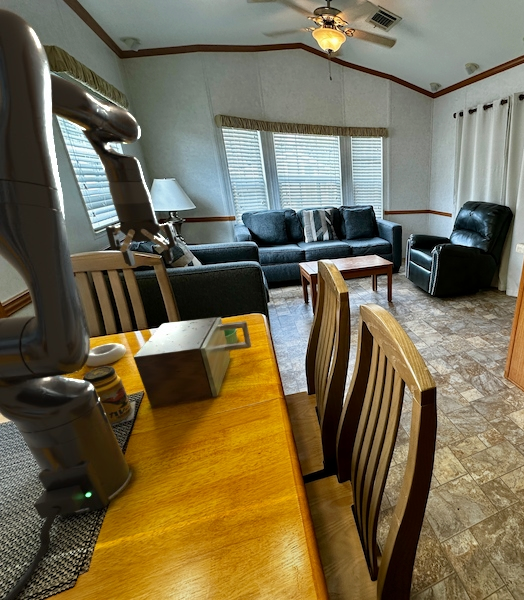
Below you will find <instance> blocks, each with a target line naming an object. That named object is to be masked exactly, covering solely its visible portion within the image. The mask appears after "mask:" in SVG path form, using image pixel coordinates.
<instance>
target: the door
mask: <svg viewBox="0 0 524 600" xmlns="http://www.w3.org/2000/svg"><path fill="white" fill-rule="evenodd" d="M229 329H237V330H238V329H242V335H243V339H244V341H242V342H236V343H235V344H227V342H226V338H225V333H224V330H229ZM250 348H252V343H251V337H250V332H249V327H248V322H247V321H246V320H243V321H242V320H241V321H235V322H227V323H223V321H222V317H216V321H215V323H214V324H213V326H212V328H211V330H210V332H209V334H208V336H207V338H206V339H205V341H204V343H203V345H202V347H201V353H202V357H203V361H204V364H205V368H206V372H207V376H208V379H209V383H210V387H211V391H212V394H213V396H212V398H213V397H218V395H219V393H220V390H221V388H222V385H223V382H224V379H225V375H226V373H227V370H228V368H229V364H230V361H231V356H230V351H237V350H245V349H250Z"/></svg>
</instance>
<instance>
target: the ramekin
mask: <svg viewBox="0 0 524 600" xmlns="http://www.w3.org/2000/svg"><path fill="white" fill-rule="evenodd" d="M237 331H238V328H237V329H229V330H224V333H225V338H226V342H227V344H235V343H238V333H237Z"/></svg>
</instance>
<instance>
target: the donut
mask: <svg viewBox="0 0 524 600" xmlns="http://www.w3.org/2000/svg"><path fill="white" fill-rule="evenodd" d="M126 352H127V348H126V346H125V345H124V344H121V343H115V342H114V343H106V344H101V345H97V346H95V347H92V348H90V353H89V357H88V360H87V362H86V364H85V366H88V367H103V366H107V365H109V364H112V363H114V362H118V361H119V360H120V359H122V358H123V357H124V356H125V354H126Z"/></svg>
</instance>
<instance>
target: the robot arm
mask: <svg viewBox="0 0 524 600" xmlns="http://www.w3.org/2000/svg"><path fill="white" fill-rule="evenodd" d="M53 115H55V116H57V117H59V118H60V119H63V120H65V121H66V122H69V123H70V124H72V125H74V126H76V127H78V128H80V130H81V132H82V134H83V135H84V136H85V139H87V141H88V142H89V144H90V145H91V147H92V149H93V151H94V152H95V154H96V155H97V157H98V159H99V160H100V163H101V165H102V168H103V171H104V173H105V177H106V181H107V183H108V190H109V194H110V196H111V200H112V204H113V207H114V209H115V212H116V215H117V219H118V221H119V225H114V224H111V225H108V226H106V227H105V232H106V235H107V239H108V243H109V247H110V249H111V250H112V251H117V252H121V254H122V257H123V260H124V263H125V264H126V265H128V267H134V266H136V260H135V258H134V254H133V252H132V250H131V248H132V246H133V245H134V243H135V244H137V243H142V242H144V243H150V242H153V243H154V244H155V245H157V246H159V247H161V248H162V249H163V250H162V253H163V256H164V260H165V263H166V264H167V265H170V264H172V263H173V261H174V255H173V251H172V248H175V247H176V246H178V245H179V241H178V238H177V235H176V232H175V229H174V226H173V223H171V222H166V223H164V224H163V223H162V224H160V223H159V222H158V220H157V216H156V213H155V209H154V206H153V202H152V197H151V194H150V191H149V189H148V187H147V184H146V182H145V178H144V175H143V171H142V167H141V164H140V162H139V159H138V158H137V157H136V156H134V155H130V154H125V153H120V152H117V150H115V149H114V148H113V147H112V145H111V144H134V143H136V142H137V141H138V140H139V139H140V137H141V127H140V125H139V123H138V121H137V120H136V118H135V117H134V116H133V115H132V114H131V113H130V112H129V111H127V110H126V109H124V108H122V107H121V106H118V105H116V104H114V103H112V102H111V103H110V102H108V101H106V100H102V99H99V98H98V97H96V96H95V95H93V94H92V93H90V92H89V91H87V90H86V89H85V88H84V87H82V86H80V85H79V84H77V83H75V82H73V81H71V80H68V79H66V78H64V77H61V76H58V75H55V74H53V73H51V68H50V63H49V58H48V55H47V53H46V50H45V47H44V45H43V43H42V41H41V38H40V37H39V35H38V33H37V32H36V30H35V28H34V27H33V26H32V25H31V24H30V23H29V22H28V21H27V20H26V19H25V18H23V17H22V16H21V15H19V14H18V13H15V12H14V11H12V10H9V9H5V8H2V7H0V257H2V258H3V259H4V260H5V261H6V262H7V263H8V264H9V265H10V266H11V267H12V268H13V269H14V270H15V271H16V273H18V275H19V276H20V277H21V279H22V280H23V282H24V284H25V285H26V288H27V291H28V292H29V295H30V299H31V302H32V306H33V310H34V311H33V312H34V315H33V314H31V315H22V316H11V317H3V318H2V317H1V318H0V415H2V416H3V417H4V418H5V419H7V420H8V421H11V422H12V423H14V424H15V426H16V428H17V430H18V431H19V433H20V434H21V436H22V439H23V440H24V442H25V443H26V446H27V448H28V449H29V451H30V453H31V454H32V456H33V458H34V460H35V462H36V464H37V466H38V467H39V469H40V470H41V471H40V472H39V473H38V474H37V478H38V479H39V481H40V483H41V485H42V487H43V488H44V490H43V492H42V494H40V496H39V497H38V498H37V499H36V501H35V502H34V504H33V507H34V508H35V510H36V512H37V513H38V515H39V517H40V519H42V520H44V519H45V521H44V523H43V525H42V528H41V530H40V533H39V542H40V546H39V548H38V550H37V553H36V555H35V557H34V559H33V560H32V563H31V564H30V566H29V568H27V570H26V572H25V573H24V574H23V575H22V577H21V578H20V579H19V581H18V582H17V583H16V584H15V586H14V587H13V588H11V590H10V591H9V592H8V594H6V596H5V597H4V598H3V599H2V600H14V599H15V598H16V597H17V596H18V595H19V594H20V592H21V591H22V589H24V587H25V586H26V585H27V583H28V582H29V580H30V579H31V578H32V576H33V575H34V573H35V572H36V571H35V570H36V569H37V567H38V566H39V564H40V563H41V561H42V560H43V558H44V556H45V554H46V553H47V552H48V551H49V550H48V549H49V547H50V545H51V536H50V533H51V530H52V526H53V524H54V522H55V520H56V518H57V517H58V516H59V517H61V519H63V518H68V517H71V516H75V515H81V514H85V513H89V512H94V511H97V510H102V509H105V508H107V507H108V505H109V503H110V502H111V501H112V500H114V499H115V498H116V497H117V496H119V495H120V494H121V493H122V492H123V491H124V490H125V489H126V488H127V487H128V486H129V483H130V482H131V480H132V476H133V472H132V469H131V467H130V466H129V464H128V461H127V459H126V457H125V454H124V453H123V450H122V448H121V445H120V443H119V441H118V438H117V436H116V434H115V432H114V429H113V426H112V424H110V422H109V420H108V417H107V415H106V413H105V410H104V408H103V405H102V403H101V401H100V398H99V396H98V393H97V391H96V389H95V387H94V386H93V385H92V384H91V383H90V382H88V381H85V380H83V379H80V378H72V377H67V376H66V375H71V374H75V373H77V372H80V371H81V370H82V369H83V368H84V367H85V366H86V365H85V364H86V362H87V360H88V357H89V353H90V350H91V340H90V339H91V338H90V332H89V327H88V323H87V319H86V316H85V311H84V308H83V304H82V301H81V297H80V293H79V289H78V286H77V282H76V278H75V273H74V270H73V269H74V268H73V264H72V258H71V257H72V256H71V252H70V246H69V244H70V243H69V239H68V230H67V221H66V212H65V203H64V198H63V191H62V187H61V182H60V177H59V172H58V165H57V158H56V151H55V142H54V131H53ZM160 230H162V232H163V233H165V235H166V237H167V239H165V238H164V236H162V235H161V234H160ZM120 233H122V234H123V235H125V238H124V240H123V241H122V244H121V240H120V238H119V237H120V236H119V235H120ZM167 240H168V241H167Z"/></svg>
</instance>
